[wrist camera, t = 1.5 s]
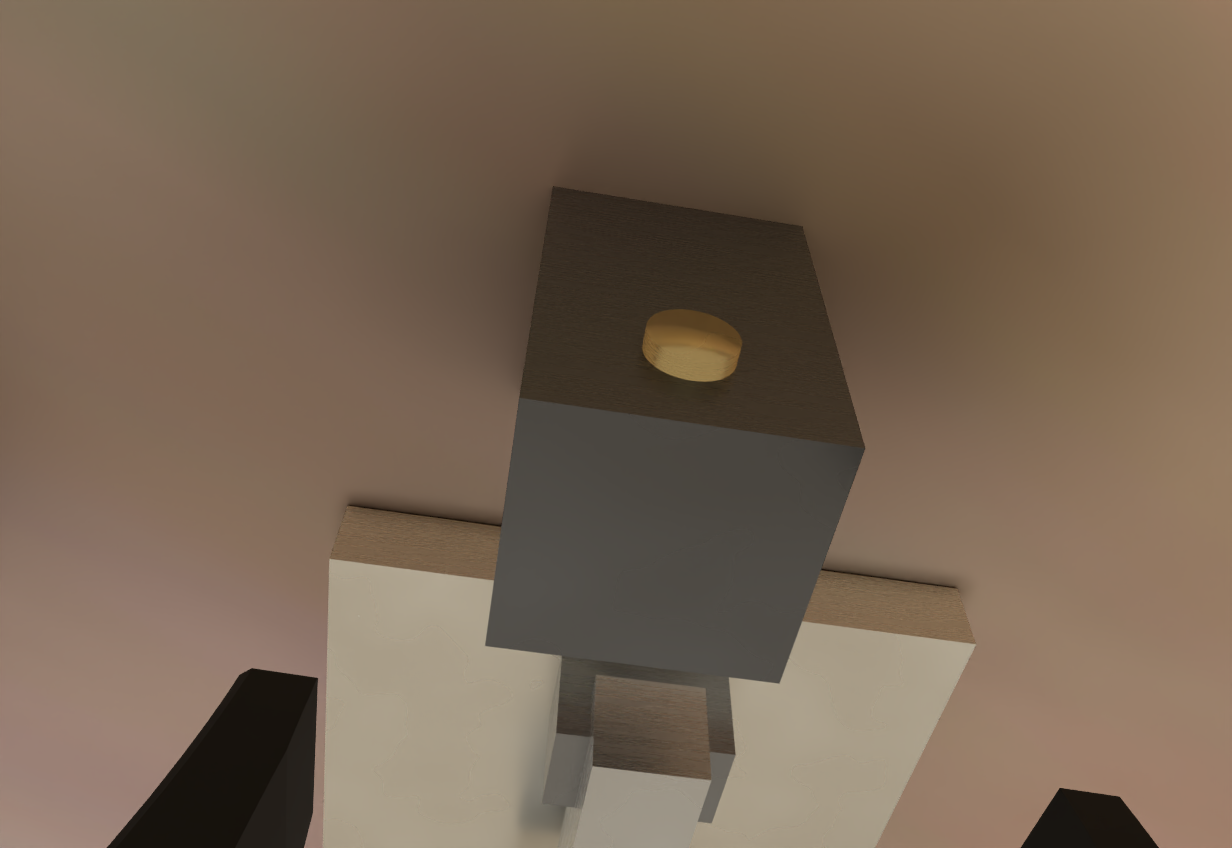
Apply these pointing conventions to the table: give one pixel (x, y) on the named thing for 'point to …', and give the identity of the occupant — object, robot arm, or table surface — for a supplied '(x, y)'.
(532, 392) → the block
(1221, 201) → the table surface
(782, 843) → the shaft fixture
